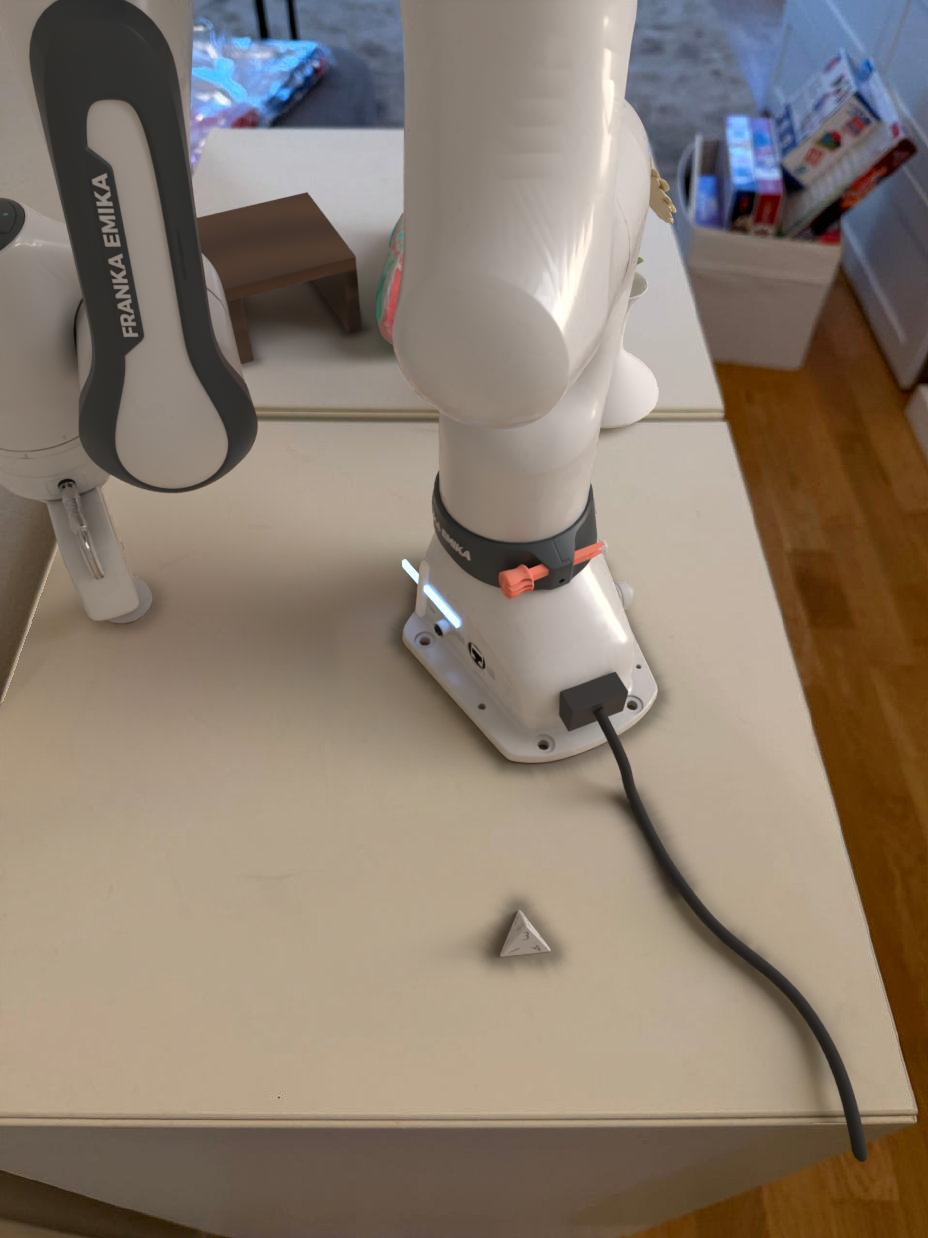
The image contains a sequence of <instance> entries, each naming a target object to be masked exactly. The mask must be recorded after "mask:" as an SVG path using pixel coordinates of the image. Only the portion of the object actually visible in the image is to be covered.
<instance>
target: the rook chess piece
mask: <svg viewBox="0 0 928 1238" xmlns="http://www.w3.org/2000/svg"><path fill="white" fill-rule="evenodd" d="M120 542H121V545H122V548H123V551H125V547H124V543H123V541H121V540H120ZM131 575H132V579H133V582H134V585H135V588H136V591H137V594H138V598H139V606H138V607H137V608H136V609H135V610H133V611H131V612H129V613H126V614H124V615H121V616H118V617H115V618H111V619H107V620H106V621H109V622H111V623H114V624H130V623H134V622H136V621H138V620H139V619H141V618H143V617H144V616H145V614H146V613H147V612H148V611H149V609H151V606H152V604H153V603H152V602H153V598H154V597H153V595H152V591H151V590H150V589H149V585H148V584H147V583H146V582H145V581H144V580H143V579H142V578H141V577H140V576H137V575H136V574H134V573H133V572H131Z"/></svg>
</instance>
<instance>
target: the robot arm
mask: <svg viewBox="0 0 928 1238" xmlns="http://www.w3.org/2000/svg"><path fill="white" fill-rule="evenodd" d="M398 5H399V6H398V7H399V13H400V24H401V33H402V34H401V35H402V49H403V51H402V52H403V75H404V76H403V82H404V83H403V84H404V87H403V88H404V89H403V90H404V91H403V92H404V93H403V94H404V96H403V99H404V100H403V103H404V104H403V149H402V151H403V152H402V154H403V156H402V157H403V158H402V160H403V163H402V166H403V168H402V171H403V172H402V184H403V185H402V189H403V190H402V192H403V197H402V198H403V200H402V201H403V202H402V203H403V205H402V206H403V212H404V231H403V257H402V270H401V278H400V286H399V292H398V298H397V304H396V309H395V315H394V321H393V330H392V338H393V345H392V346H393V351H394V355H395V359H396V362H397V364H398V366H399V368H400V370H401V372H402V374H403V376H404V378H405V379H406V381H407V382H408V383H409V386H411V387H412V389H413V390H414V391H415V393H417V395H418V396H419V397H420V398H421V399H422V400H424V402H426V403H427V404H428V405H430V406H431V408H432V407H433V409H434V410H436V411H437V412H438V471H437V473H436V475H435V478H434V483H433V490H432V495H431V514H432V519H433V520H432V521H433V528H434V532H433V535H432V537H431V539H430V542H429V543H428V546H427V548H426V550H425V552H424V555H423V557H422V559H421V562H420V564H419V568H418V571H417V570H416V569H415V568H414V567H413V566H412V565H411V564H410V562H409V561H408V560H407V559H403V560H402V561H401V562H402V563H401V564H402V568H403V570H405V571H406V573H407V574H408V575H409V576H410V577H411V578H412V579H413V580H414V582H415V583H416V584H417V588H416V600H415V609H414V611H413V612H412V614H411V615H410V616H409V618H408V619H407V621H406V622H405V624H404V626H403V629H402V637H401V639H402V643H403V644H404V646H405V647H406V648H407V649H408V651H409V652H410V653H411V654H412V655H413V656H414V657H415V659H416V660H417V661H419V663H420V664H421V666H423V668H424V669H426V671H427V672H428V673H429V674H430V675H431V676H432V678H434V680H435V681H436V682H437V683H438V684H439V685H440V686H441V687H442V689H443V690H444V691H445V692H446V693H447V694H448V696H450V698H451V699H452V700H453V701H454V702H455V703H456V704H457V705H458V707H459V708H460V709H462V711H463V712H464V713H465V714H466V715H467V717H468V718H469V719H470V721H472V722H473V724H475V726H476V727H477V728H478V729H479V730H480V731H481V733H482V734H483V735H484V736H485V737H486V738H487V739H488V740H489V741H490V742H491V744H492V745H493V746H494V747H495V748H496V749H497V750H498V751H499V753H500V754H502V756H503V757H504V758H506V759H507V760H509V761H511V762H516V763H526V764H531V763H532V764H534V763H537V764H538V763H546V762H547V763H548V762H554V761H559V760H563V759H567V758H570V757H573V756H576V755H579V754H580V755H581V754H583V753H585V752H587V751H589V750H592V749H595V748H596V747H597V748H598V747H599V746H601V745H603V744H605V743H608V745H609V747H610V750H611V751H612V754H613V757H614V759H615V761H616V764H617V766H618V770H619V773H620V777H621V781H622V786H623V790H624V792H625V793H624V794H625V795H626V798H627V800H628V803H629V805H630V807H631V809H632V811H633V813H634V817H635V818H636V820H637V822H638V824H639V826H640V828H641V830H642V831H643V835H644V836H645V838H646V840H647V842H648V844H649V846H650V848H651V850H652V852H653V854H654V856H655V857H656V860H657V861H658V863H659V864H660V866H661V868H662V869H663V871H664V873H665V874H666V876H667V878H668V879H669V880H670V881H671V883H672V885H673V887H675V889H676V890H677V892H678V893H679V894H680V896H681V897H682V899H683V900H684V901H685V902H686V904H687V905H688V906H689V908H690V909H691V910H692V911H693V913H694V914H695V915H696V916H697V918H699V920H700V921H701V922H702V923H703V925H705V927H706V928H707V929H708V930H709V931H710V932H711V933H712V934H713V935H714V936H715V937H716V938H717V939H719V940H720V941H721V942H722V943H724V945H726V947H728V948H729V949H730V950H731V951H733V952H734V953H735V954H736V955H737V956H739V957H740V958H742V959H743V960H744V961H745V962H746V963H748V964H749V965H750V966H752V967H753V968H754V969H755V970H757V971H758V972H759V973H760V974H762V975H763V976H764V977H765V978H767V980H769V981H770V982H771V983H772V984H773V985H774V986H775V987H776V988H778V989H779V991H780V992H781V993H782V994H783V995H784V996H785V997H786V998H787V999H788V1000H789V1001H790V1002H791V1004H792V1005H793V1006H794V1007H795V1008H796V1010H797V1012H798V1013H799V1015H801V1017H802V1018H803V1020H804V1021H805V1022H806V1024H807V1025H808V1027H809V1029H810V1031H811V1032H812V1034H813V1035H814V1037H815V1039H816V1041H817V1043H818V1045H819V1046H820V1048H821V1050H822V1052H823V1055H824V1057H825V1058H826V1061H827V1063H828V1066H829V1068H830V1070H831V1073H832V1076H833V1078H834V1082H835V1085H836V1088H837V1091H838V1094H839V1098H840V1102H841V1105H842V1108H843V1114H844V1117H845V1122H846V1127H847V1131H848V1136H849V1141H850V1147H851V1152H852V1154H853V1157H854V1158H855V1159H856V1160H857V1161H858V1162H862V1163H865V1162H867V1160H868V1149H867V1143H866V1138H865V1137H866V1136H865V1132H864V1128H863V1123H862V1118H861V1115H860V1111H859V1107H858V1103H857V1098H856V1095H855V1092H854V1089H853V1086H852V1082H851V1080H850V1077H849V1074H848V1072H847V1069H846V1066H845V1064H844V1061H843V1059H842V1057H841V1054H840V1052H839V1050H838V1048H837V1046H836V1044H835V1043H834V1041H833V1039H832V1036H831V1034H830V1033H829V1031H828V1030H827V1028H826V1026H825V1025H824V1023H823V1022H822V1020H821V1018H820V1017H819V1016H818V1014H817V1013H816V1011H815V1010H814V1008H813V1007H812V1006H811V1004H810V1003H809V1002H808V1001H807V999H806V998H805V996H804V995H803V994H802V993H801V992H800V991H799V989H797V988H796V986H795V985H793V983H792V982H791V981H790V980H789V979H788V978H787V977H785V975H783V974H782V972H780V971H779V970H778V969H777V968H775V967H774V966H773V965H772V964H771V963H770V962H769V961H767V960H766V959H764V958H763V957H762V956H760V955H759V954H758V953H757V952H756V951H754V950H753V949H752V948H750V947H749V946H748V945H746V944H745V943H744V942H743V941H742V940H740V939H739V938H738V937H737V936H735V935H734V934H733V933H732V932H731V931H730V930H728V929H727V928H726V927H725V925H723V924H722V923H721V922H720V921H719V920H718V919H717V918H716V917H715V916H714V915H713V914H712V913H711V912H710V911H709V909H708V908H707V907H706V906H705V904H704V903H703V902H702V901H701V899H700V898H699V896H698V895H696V893H695V891H694V890H693V888H692V887H691V885H689V884H688V882H687V881H686V879H685V878H684V877H683V875H682V873H681V872H680V871H679V868H678V867H677V866H676V864H675V863H674V861H673V860H672V858H671V857H670V855H669V852H667V850H666V848H665V846H664V845H663V843H662V841H661V839H660V837H659V835H658V834H657V831H656V829H655V827H654V825H653V823H652V821H651V819H650V817H649V815H648V813H647V811H646V808H645V806H644V804H643V802H642V800H641V797H640V794H639V792H638V790H637V787H636V784H635V779H634V774H633V770H632V766H631V763H630V760H629V758H628V756H627V753H626V750H625V749H624V746H623V744H622V741H621V740H620V737H619V736H620V735H622V734H623V733H625V732H627V731H628V730H629V729H631V728H632V727H634V725H637V723H638V722H639V721H640V720H642V718H644V717H645V715H646V714H647V713H648V712H649V711H650V709H651V708H652V707H653V705H654V702H655V701H656V699H657V697H658V689H659V688H658V685H657V681H656V679H655V677H654V675H653V673H652V670H651V669H650V666H649V665H648V662H647V660H646V659H645V656H644V654H643V652H642V650H641V647H640V645H639V643H638V641H637V639H636V637H635V635H634V632H633V630H632V627H631V625H630V622H629V619H628V617H627V614H626V612H625V610H628V609H631V608H633V607H634V606H635V602H636V596H635V591H634V588H633V586H632V585H631V582H629V581H628V580H626V579H624V580H618V581H615V582H614V580H613V576H612V573H611V571H610V568H609V567H608V563H607V561H606V559H605V556H607V555H608V553H609V546H608V542H607V541H606V539H605V538H598V528H597V527H598V526H597V516H596V514H597V513H598V512H597V503H596V499H595V498H594V497H595V496H594V489H593V484H592V477H593V471H594V466H595V462H596V461H595V460H596V455H597V449H598V443H599V438H600V433H601V428H600V427H601V421H602V416H603V412H604V407H605V403H606V398H607V394H608V390H609V386H610V381H611V377H612V373H613V368H614V364H615V360H616V355H617V351H618V347H619V342H620V338H621V333H622V329H623V324H624V320H625V315H626V311H627V306H628V302H629V297H630V293H631V288H632V284H633V279H634V274H635V271H636V270H637V266H638V265H637V260H638V257H640V251H641V245H642V241H643V236H644V231H645V225H646V221H647V218H648V212H649V208H650V206H649V199H650V184H651V165H650V155H651V152H650V144H649V139H648V135H647V131H646V129H645V126H644V124H643V121H642V120H641V118H640V117H639V115H638V113H637V111H636V110H635V109H634V107H633V106H632V105H631V104H630V103H629V102H628V101H627V99H626V89H627V80H628V73H629V72H628V71H629V65H630V57H631V50H632V42H633V37H634V36H633V35H634V32H635V31H634V30H635V25H636V19H637V14H638V13H637V12H638V0H398ZM195 8H196V0H0V32H1V34H2V37H3V40H4V42H5V46H6V47H7V50H8V52H9V55H10V57H11V60H12V62H13V65H14V68H15V70H16V73H17V75H18V78H19V81H20V83H21V85H22V88H23V90H24V94H25V95H26V98H27V101H28V104H29V106H30V110H31V111H32V114H33V117H34V119H35V122H36V124H37V127H38V130H39V132H40V135H41V138H42V141H43V144H44V147H45V150H46V153H47V155H48V159H49V161H50V164H51V168H52V172H53V176H54V180H55V184H56V189H57V191H58V196H59V201H60V204H61V209H62V213H63V217H64V218H63V219H64V221H65V222H62V221H59V220H57V219H54V218H51V217H49V216H46V215H44V214H41V213H40V212H39V211H37V210H35V209H33V208H31V207H30V206H28V205H27V204H24V203H23V202H21V201H19V200H15V199H13V198H12V199H11V198H7V197H0V485H2V487H4V488H5V489H6V490H7V491H8V492H11V493H12V494H14V495H15V496H18V497H21V498H24V499H29V500H33V501H34V500H35V501H37V502H41V503H43V504H46V507H47V510H48V512H49V517H50V518H49V519H50V521H51V524H52V525H51V526H52V528H53V533H54V536H55V540H56V543H57V547H58V549H59V553H60V556H61V558H62V561H63V563H64V565H65V568H66V571H67V573H68V575H69V577H70V580H71V582H72V584H73V586H74V589H75V591H76V593H77V595H78V598H79V600H80V602H81V605H82V607H83V608H84V611H85V613H86V614H87V616H88V618H90V619H91V620H92V621H94V622H102V621H108V620H107V619H111V618H115V617H118V616H121V615H124V614H126V613H129V612H131V611H133V610H135V609H136V608H137V607H138V606H139V598H138V594H137V591H136V588H135V585H134V582H133V579H132V575H131V573H132V572H131V569H130V567H129V563H128V560H127V557H126V554H125V552H124V551H125V550H124V551H123V548H122V545H121V542H122V541H121V539H120V535H119V532H118V530H117V527H116V524H115V521H114V518H113V515H112V512H111V508H110V505H109V503H108V499H107V496H106V493H105V489H104V486H105V484H106V483H107V482H108V481H109V479H110V477H111V476H112V477H114V478H116V479H118V480H119V481H121V482H124V483H125V484H128V485H130V486H132V487H136V488H138V489H141V490H145V491H149V492H154V493H163V494H183V493H188V492H192V491H196V490H200V489H203V488H204V487H207V486H209V485H211V484H213V483H215V482H218V481H219V480H220V479H222V478H223V477H225V476H226V475H227V474H229V473H230V472H232V471H233V470H234V469H235V468H236V467H237V466H238V465H239V464H240V463H241V462H242V461H243V460H244V459H245V458H246V457H247V456H248V454H249V453H250V451H251V450H252V448H253V446H254V444H255V442H256V439H257V436H258V429H259V422H258V421H259V420H258V414H257V412H256V408H255V405H254V401H253V398H252V396H251V392H250V390H249V387H248V384H247V383H246V380H245V376H244V372H243V368H242V364H241V363H240V359H239V354H238V350H237V346H236V341H235V337H234V333H233V328H232V323H231V320H230V315H229V311H228V306H227V302H226V298H225V294H224V291H223V285H222V281H221V278H220V276H219V274H218V272H217V270H216V268H215V266H214V265H213V263H212V262H211V261H210V260H209V258H208V257H207V256H206V255H205V254H204V253H203V252H202V251H201V244H200V237H199V230H198V223H197V218H198V217H197V210H196V209H197V208H196V202H195V193H194V185H193V178H192V177H193V176H192V161H191V104H192V103H191V102H192V77H193V75H192V74H193V55H194V54H193V53H194V52H193V50H194V33H195V32H194V31H195V10H196V9H195ZM120 541H121V542H120ZM423 643H428V644H427V645H424V644H423ZM630 706H631V707H633V708H635V709H630V708H629V707H630ZM541 745H542V746H543V745H544V746H546V747H547V748H546V749H542V748H540V747H539V746H541Z"/></svg>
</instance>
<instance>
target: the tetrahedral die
mask: <svg viewBox="0 0 928 1238" xmlns="http://www.w3.org/2000/svg"><path fill="white" fill-rule="evenodd" d="M548 952H549V953H550V952H551V948H550V947H549V945H548V944H547V943H546V941H545V940H544V939H543V937H542V936H541V935H540V933H539V932H538V931H537V929H536V928H535V927H534V926H533V925H532V923H531V922H530V920H529V919H528V918H527V916H526V915H525V914H524V913H523V911H522V910H521V909H518V910H517V912H516V914H515V917H514V919H513V922H512V925H511V927H510V929H509V931H508V933H507V936H506V939H505V942H504V944H503V947H502V949H501V951H500V953H499V957H502V958H503V957H511V956H513V957H514V956H522V955H523V956H524V955H531V954H532V955H533V954H540V953H548Z"/></svg>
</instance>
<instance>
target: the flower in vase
mask: <svg viewBox="0 0 928 1238" xmlns="http://www.w3.org/2000/svg"><path fill="white" fill-rule="evenodd" d="M650 165H651V184H650V199H649V208H650V209H651V210H652V212H653V213H655V215H656V216H657V218H659V219H660V220H662V221H663V222H664V223H666V224H668V225H673V224H674V218H673V215H672V213H673V214H676V213H677V209H676V206H675V205H674V204H673V201H672V199H671V198H670V197H669V195H667V194H666V193H665V192H669V191H670V185H669V184H668V182H667V181H666V180H665V179H664V178H661V177H660V173H659V172H658V170H657V169H655V168H654V161H653V157H652V156H651V154H650ZM644 261H645V260H644V259H643V257H640V256H638V260H637V265H636V266H638V265H639V264H642V263H644ZM648 289H649V282H648V281H647V279H646V277H645V276H644V275H642V274H641V273H640V272H637V271H636V270H635V274H634V279H633V284H632V288H631V293H630V297H629V302H628V306H627V311H626V315H625V320H624V324H623V329H622V333H621V338H620V342H619V347H618V351H617V355H616V360H615V364H614V368H613V373H612V377H611V381H610V386H609V390H608V394H607V398H606V403H605V407H604V412H603V416H602V421H601V427H600V429H615V428H621V427H627V426H630V425H632V424H635V423H637V422H639V421H641V420H642V419H643V418H645V417H646V416H648V415H649V414H650V413H651V412H652V411H653V410H654V409H655V407H656V406H657V403H658V401H659V387H658V382H657V379H656V377H655V374H654V373H653V372H652V370H651V369H650V368H649V367H648V366H647V365H646V364H645V363H644V362H643V360H641V359H639V357H637V356H635V355H634V354H632V353H631V352H628V351H626V350H625V349H624V334H625V330H626V325H627V321H628V319H629V315H630V313H631V311H632V308H633V307H634V305H635V303H636V302H637V301H638V300H639V298H641V297H643V296H644V295H645V294H646V292H647V290H648Z"/></svg>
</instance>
